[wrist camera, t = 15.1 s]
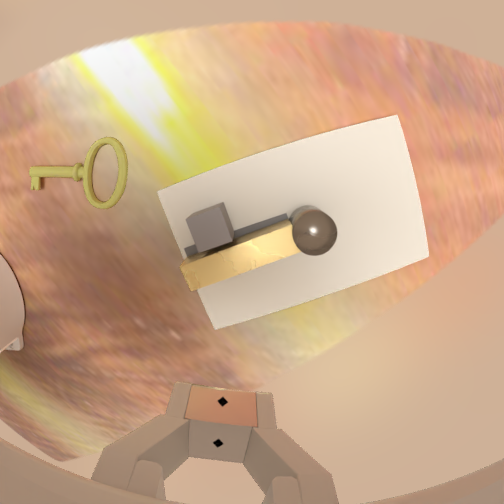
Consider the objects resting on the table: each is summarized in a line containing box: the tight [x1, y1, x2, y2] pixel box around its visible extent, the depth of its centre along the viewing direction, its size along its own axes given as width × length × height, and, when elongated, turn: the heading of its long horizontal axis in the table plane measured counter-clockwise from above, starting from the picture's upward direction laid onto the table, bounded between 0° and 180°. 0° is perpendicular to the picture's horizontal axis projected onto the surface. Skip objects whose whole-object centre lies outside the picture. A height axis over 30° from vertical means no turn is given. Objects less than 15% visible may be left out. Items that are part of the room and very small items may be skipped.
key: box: [29, 137, 128, 209], centre depth 27 cm, size 7×12×2 cm, turn 101°
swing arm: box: [179, 205, 337, 291], centre depth 26 cm, size 13×4×4 cm, turn 111°
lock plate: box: [157, 115, 429, 330], centre depth 27 cm, size 24×15×4 cm, turn 109°
